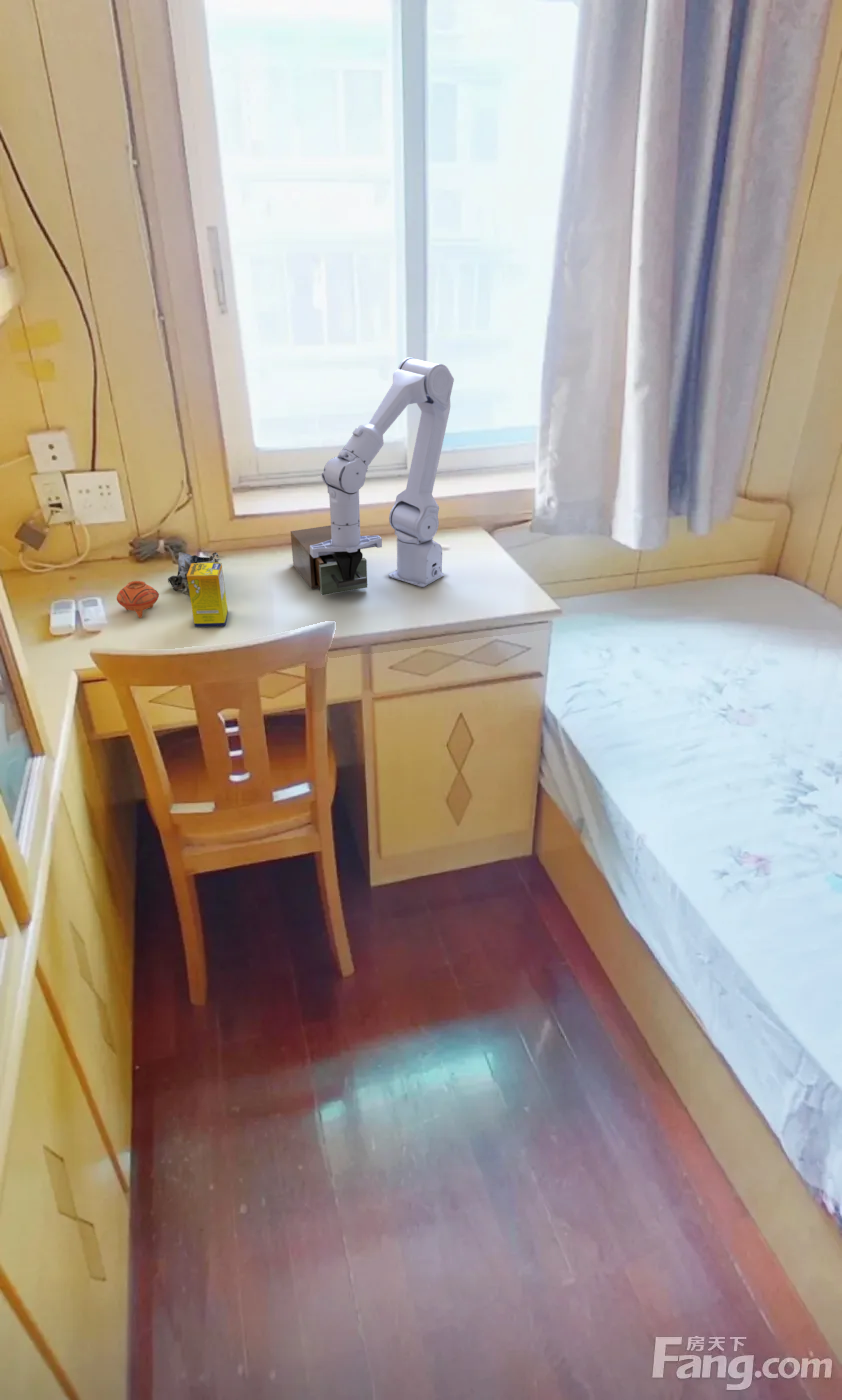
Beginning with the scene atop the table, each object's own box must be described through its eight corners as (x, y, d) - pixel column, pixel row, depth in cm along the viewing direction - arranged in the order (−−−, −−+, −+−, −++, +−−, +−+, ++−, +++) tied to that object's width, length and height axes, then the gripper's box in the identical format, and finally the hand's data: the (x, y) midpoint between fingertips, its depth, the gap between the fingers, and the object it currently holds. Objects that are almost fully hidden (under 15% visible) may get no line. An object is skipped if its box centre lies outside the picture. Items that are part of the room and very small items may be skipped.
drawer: (376, 597, 170) (375, 569, 167) (330, 606, 167) (329, 577, 163) (347, 565, 184) (346, 538, 180) (304, 572, 180) (302, 545, 177)
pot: (110, 619, 162) (107, 584, 160) (130, 610, 169) (127, 577, 167) (149, 621, 161) (146, 586, 159) (167, 612, 168) (164, 579, 166)
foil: (235, 557, 181) (217, 544, 166) (231, 607, 181) (212, 598, 166) (182, 553, 181) (159, 539, 166) (178, 602, 181) (154, 593, 166)
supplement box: (198, 613, 165) (190, 562, 159) (228, 612, 166) (222, 561, 160) (193, 627, 160) (185, 575, 154) (225, 626, 161) (218, 574, 155)
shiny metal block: (350, 580, 175) (349, 562, 172) (330, 583, 173) (329, 565, 171) (341, 570, 179) (341, 552, 177) (322, 573, 177) (321, 555, 175)
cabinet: (361, 581, 179) (360, 545, 175) (311, 589, 175) (309, 553, 171) (340, 558, 189) (338, 524, 185) (293, 565, 186) (290, 531, 181)
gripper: (316, 532, 157) (320, 598, 164) (387, 522, 162) (388, 586, 169) (304, 520, 162) (309, 584, 169) (374, 510, 167) (375, 572, 174)
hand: (347, 584), depth 170 cm, fingers closed, pressing on drawer
